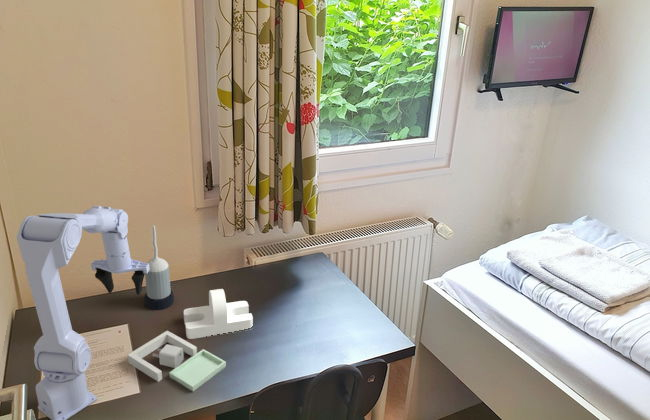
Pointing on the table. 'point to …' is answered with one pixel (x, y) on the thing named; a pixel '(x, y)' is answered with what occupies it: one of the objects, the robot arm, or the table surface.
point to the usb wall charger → (170, 356)
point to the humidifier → (158, 282)
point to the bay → (152, 345)
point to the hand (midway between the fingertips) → (125, 291)
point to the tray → (197, 370)
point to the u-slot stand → (217, 317)
